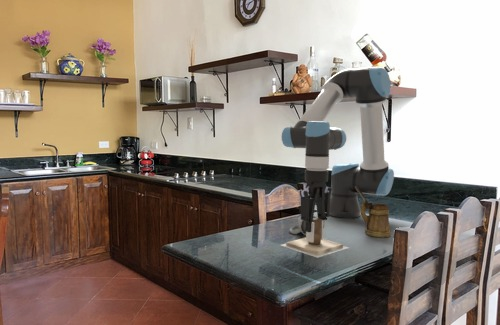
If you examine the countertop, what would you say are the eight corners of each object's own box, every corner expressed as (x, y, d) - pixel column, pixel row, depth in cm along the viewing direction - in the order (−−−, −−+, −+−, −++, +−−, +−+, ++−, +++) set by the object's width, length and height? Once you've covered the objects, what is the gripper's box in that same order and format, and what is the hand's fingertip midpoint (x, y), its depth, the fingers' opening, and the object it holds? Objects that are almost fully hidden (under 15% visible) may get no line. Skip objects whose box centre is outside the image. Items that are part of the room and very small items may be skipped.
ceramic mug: (315, 230, 153) (315, 210, 153) (320, 236, 145) (321, 215, 144) (287, 231, 152) (287, 211, 152) (292, 237, 144) (292, 216, 143)
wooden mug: (351, 230, 155) (353, 184, 153) (388, 231, 153) (390, 185, 151) (354, 236, 146) (356, 187, 144) (393, 238, 144) (395, 188, 142)
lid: (312, 238, 141) (313, 213, 140) (342, 247, 131) (343, 220, 130) (286, 245, 132) (286, 218, 131) (316, 255, 122) (317, 226, 122)
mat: (312, 238, 143) (312, 236, 143) (349, 249, 131) (349, 247, 131) (279, 246, 132) (279, 245, 132) (317, 259, 120) (317, 257, 120)
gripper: (324, 166, 137) (322, 233, 140) (289, 169, 126) (288, 242, 129) (342, 168, 132) (340, 238, 134) (307, 172, 121) (305, 247, 123)
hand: (314, 240), depth 131 cm, fingers closed on lid, 4 cm apart
